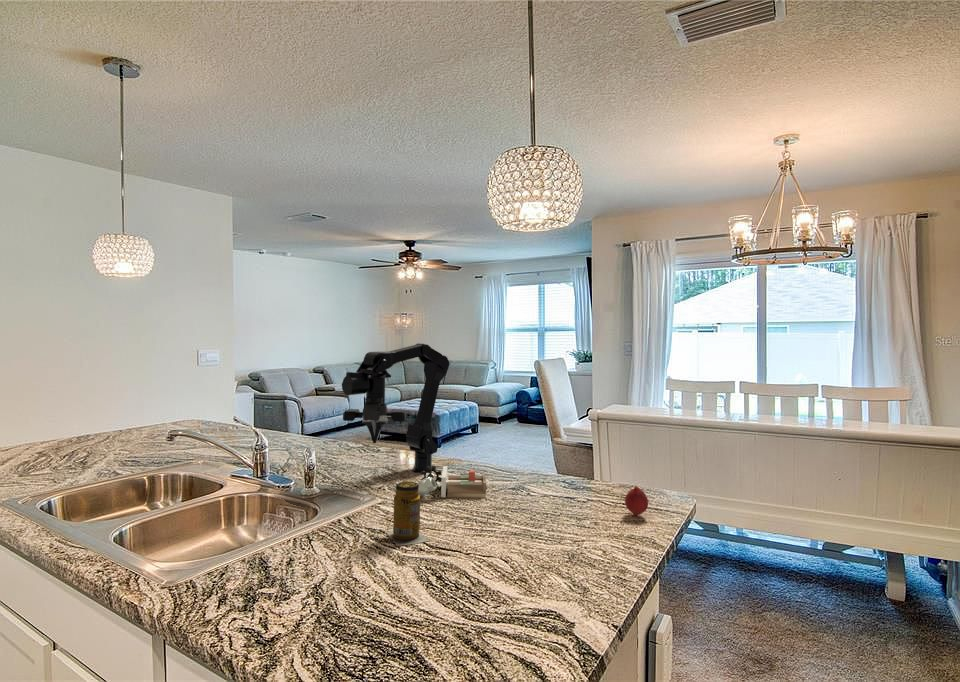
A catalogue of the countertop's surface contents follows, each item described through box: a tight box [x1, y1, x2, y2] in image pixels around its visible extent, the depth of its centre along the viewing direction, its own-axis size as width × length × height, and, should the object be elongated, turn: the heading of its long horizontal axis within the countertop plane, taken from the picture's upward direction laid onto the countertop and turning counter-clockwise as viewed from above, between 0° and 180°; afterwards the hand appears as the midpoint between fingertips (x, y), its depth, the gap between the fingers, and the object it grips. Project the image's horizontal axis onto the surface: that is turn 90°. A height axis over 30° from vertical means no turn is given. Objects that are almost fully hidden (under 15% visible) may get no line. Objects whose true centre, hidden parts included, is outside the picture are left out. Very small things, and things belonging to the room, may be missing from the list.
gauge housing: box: [446, 473, 487, 499], centre depth 151 cm, size 10×11×4 cm
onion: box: [624, 484, 649, 516], centre depth 134 cm, size 6×6×8 cm
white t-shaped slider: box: [440, 465, 482, 498], centre depth 151 cm, size 12×12×6 cm
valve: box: [416, 465, 443, 497], centre depth 148 cm, size 7×7×12 cm
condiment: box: [386, 480, 429, 547], centre depth 117 cm, size 7×8×12 cm
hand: (374, 443), depth 159 cm, fingers closed
